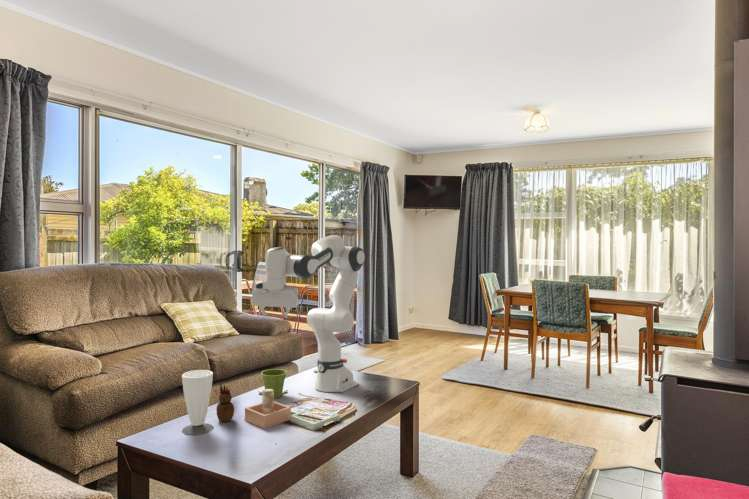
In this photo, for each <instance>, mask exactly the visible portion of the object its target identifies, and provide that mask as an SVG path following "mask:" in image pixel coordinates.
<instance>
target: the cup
mask: <svg viewBox="0 0 749 499" xmlns="http://www.w3.org/2000/svg"><path fill="white" fill-rule="evenodd" d="M213 377H214V372H213V371H212V370H208V369H195V370H190V371H186V372H184V373H183V374H182V375H181V382H182V390H183V396H184V401H185V402H184V403H185V406H186V411H187V415H188V419H189V421H190V424H189V425H186V426H184V427H183V428H182V429H183V430H181V432H182V434H183V433H185V434H184V435H186V434H187V436H200V434H201V435H205V434H207V433H210V432H211V431H212V430H213V429H214V425H213V424H210V423H206V421H205V420H206V417H207V414H208V410H209V405H210V400H211V394H212V389H213V388H212V386H213V379H214V378H213ZM209 431H210V432H209ZM204 433H205V434H204Z"/></svg>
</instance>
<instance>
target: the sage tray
mask: <svg viewBox="0 0 749 499" xmlns="http://www.w3.org/2000/svg"><path fill="white" fill-rule="evenodd" d="M313 409H319V410H322V411H325V412H329V413H332V414H334V416H331V417H329V418H326V419H323V420H321V421H318V422H311V421H307V420H305V419H302V418H299V417H297V416H298V415H299V414H302V413H304V412H307V411H310V410H313ZM340 419H341V418H340V414H338V413H336V412H333V411H330V410H327V409H324V408H321V407H320V406H319V407H318V406H313V407H311V408H308V409H306V410H305V409H304V410H302V411H299V412H296V413H293V414H291V415H290V420H289V421H290V422H291V423H292V424H296V425H297V426H300V427H303V428H306V429H308V430H311V431H317V430H320V429H322V428H324V427H323V426H324V424H325V423H326V422H329V421H338V422H339V421H340Z"/></svg>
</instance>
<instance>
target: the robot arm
mask: <svg viewBox="0 0 749 499" xmlns="http://www.w3.org/2000/svg"><path fill="white" fill-rule="evenodd" d="M310 252H311V254H301V255H299V254H292V253H290V252H288V251H287V250H286V248H285V247H283V246H277V247H276V246H274V247H270V248H269V249H268V250H266V255H265V266H264V267H265V277H264V281H261V282H257V283H254V284H253V288H254V289H253V291H252V295H251V305H252V306H255V307H259V309H260V312H261V316H262V317H263V318H266V317H267V316H268V312H266V310H265V307H270V308H271V307H273V308H285V312H284V313H283V314H282V318H283V319H287V318H288V317H289V316H288V314H289V313H290V311H291V309H292V308H295V309H296V308H297V307H298V306H299V302H300V301H299V288H298V287H297V286H296V285H287V277H291V278H301V279H310V278H311V277H313V276H314V275H315V273H316V272H317V271H318V270H319V269H320V268H322V267H324V266H325V265H327V266H329V267H331V268H339V272H338V273H337V275H336V277H335V279H334V281H333V284H332V286H331V288H330V290H329V293H328V297H329V300H330V302H331V303H332V306H331V308H329V307H328V308H326V307H315V308H312V309H310V310H309V311H308V312H307V315H306V322H307V325H308V327H310V329H311V330H312V331H313V333H314V335H315V338H316V342H317V354H318V359H317V361H316V362H317V365H316V366H317V371H316V372H317V373H316V382H315V386H314V389H315V390H317V391H319V392H323V393H335V392H337V393H339V392H340V393H342V392H346V391H347V390H350V389H352V388H354V387H356V386H358V385H359V382H358V381H357V380H356V379H354V374H353V372H352V371H351V370H350V369H349V368H347V367H346V366H345V365H344V364H347V362H348V359H347V358H342V344H341V342H340V340H339V339H338V338H336V336H335V334H334V333H340V334H341V333H342V334H343V333H348V332H350V331H352V329H353V326H354V325H355V324H354V323H355V319H354V315H353V314H352V312H351V310H350V304H351V301H352V300H351V299H352V297H353V294H354V293H355V289H356V286H357V282H358V279H359V272H358V271H359V270H361V269H362V266H363V265H364V263H365V262H366V261H365V260H366V253H365V252H364V249H363V248H361V247H358V246H349V245H346V243H345V240H344V239H343V238H342V237H341V236H340V235H337V234H331V235H328V236H325V237H322V238H319V239H318V240H316V241H315V242H313V244H312V245H311V250H310Z"/></svg>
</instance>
